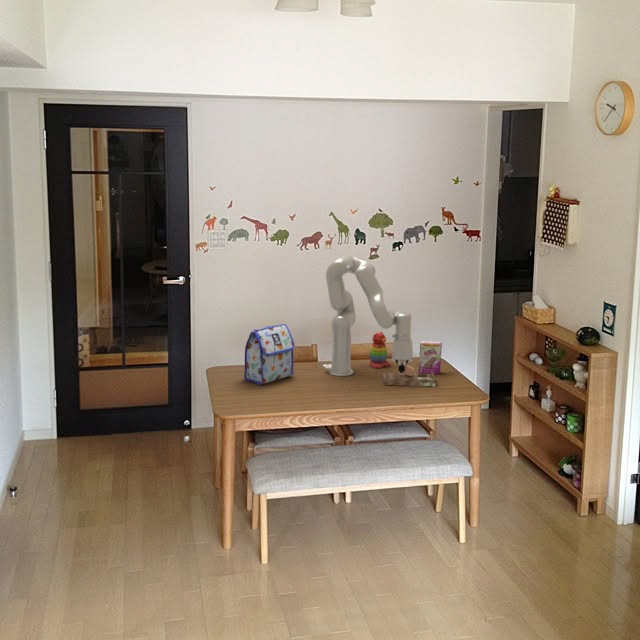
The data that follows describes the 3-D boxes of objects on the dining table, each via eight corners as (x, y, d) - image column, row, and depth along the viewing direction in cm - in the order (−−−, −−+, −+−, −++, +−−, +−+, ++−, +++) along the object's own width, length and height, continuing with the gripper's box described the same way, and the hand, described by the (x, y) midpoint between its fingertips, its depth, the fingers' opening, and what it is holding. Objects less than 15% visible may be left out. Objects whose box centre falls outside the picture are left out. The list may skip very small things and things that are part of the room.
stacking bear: (378, 369, 447) (379, 336, 443) (364, 365, 454) (365, 332, 450) (392, 365, 454) (393, 333, 450) (378, 361, 461) (379, 329, 457)
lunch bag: (264, 387, 413) (264, 333, 407) (241, 379, 424) (241, 327, 418) (297, 377, 430) (298, 326, 424) (274, 371, 441) (274, 320, 434)
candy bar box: (418, 373, 440) (420, 343, 437) (418, 371, 445) (419, 340, 441) (440, 374, 439) (442, 344, 435) (440, 372, 444) (441, 341, 440)
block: (403, 374, 427) (406, 367, 426) (403, 372, 431) (406, 364, 430) (411, 377, 427) (414, 370, 426) (411, 375, 431) (414, 367, 430)
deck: (384, 385, 419) (384, 378, 418) (383, 376, 434) (383, 370, 433) (435, 386, 419) (435, 379, 418) (432, 377, 433) (432, 371, 433)
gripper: (388, 338, 422) (386, 374, 426) (418, 339, 421) (416, 374, 426) (387, 335, 429) (386, 370, 433) (417, 335, 429) (415, 370, 433)
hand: (401, 372), depth 429 cm, fingers closed
